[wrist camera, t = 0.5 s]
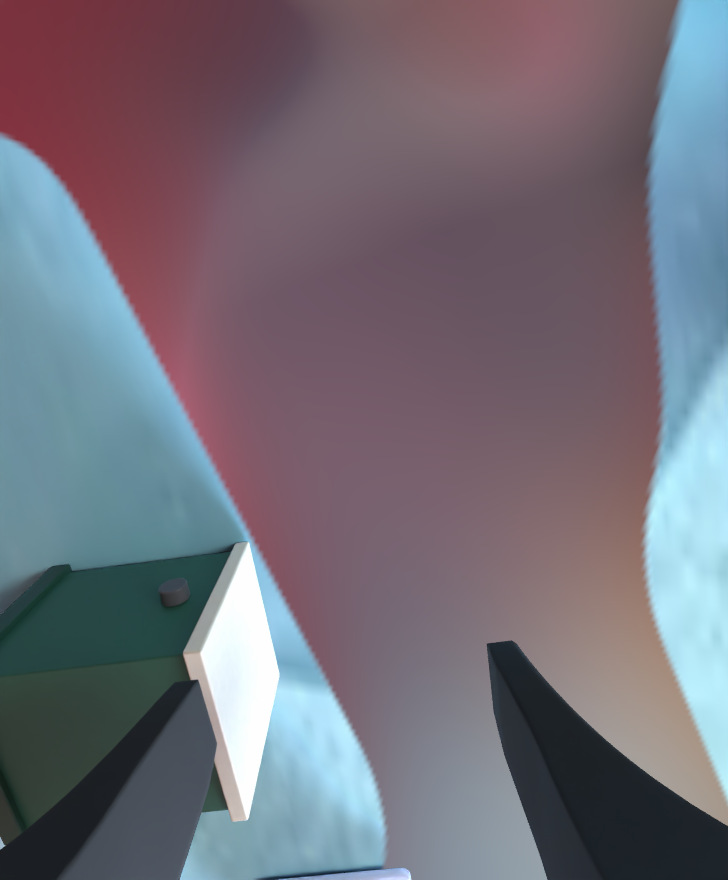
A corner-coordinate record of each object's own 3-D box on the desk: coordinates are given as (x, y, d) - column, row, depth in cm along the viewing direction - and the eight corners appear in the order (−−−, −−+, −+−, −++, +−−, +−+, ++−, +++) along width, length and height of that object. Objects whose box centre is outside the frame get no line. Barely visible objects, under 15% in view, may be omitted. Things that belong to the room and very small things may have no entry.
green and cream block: (247, 533, 23) (198, 640, 16) (281, 681, 25) (250, 828, 18) (49, 558, 23) (-77, 673, 17) (100, 701, 25) (7, 853, 19)
